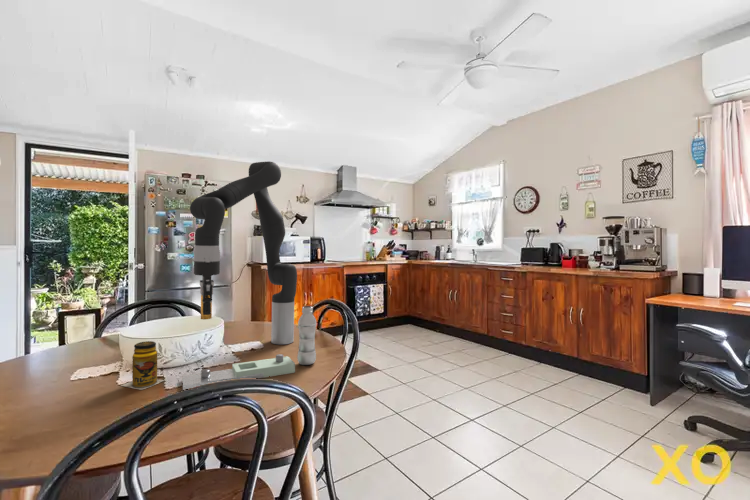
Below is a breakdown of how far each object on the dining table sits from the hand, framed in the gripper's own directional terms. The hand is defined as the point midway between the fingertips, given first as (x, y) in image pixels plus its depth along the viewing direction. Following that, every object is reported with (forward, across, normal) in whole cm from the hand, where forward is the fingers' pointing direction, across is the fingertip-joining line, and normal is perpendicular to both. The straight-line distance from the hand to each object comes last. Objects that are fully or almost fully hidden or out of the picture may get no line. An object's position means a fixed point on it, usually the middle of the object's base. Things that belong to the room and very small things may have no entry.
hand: (206, 313), depth 113 cm
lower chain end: (+19, +9, +4) cm, 21 cm away
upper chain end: (+19, +9, +16) cm, 27 cm away
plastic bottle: (+19, +7, +31) cm, 37 cm away
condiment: (+19, +3, -17) cm, 26 cm away
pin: (+2, 0, 0) cm, 2 cm away
